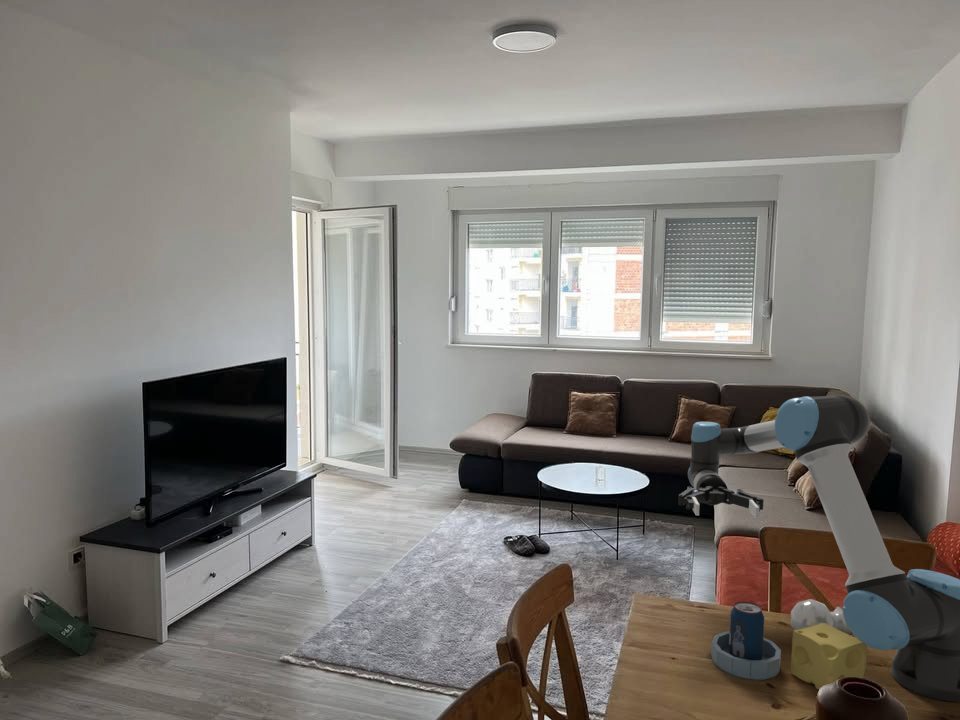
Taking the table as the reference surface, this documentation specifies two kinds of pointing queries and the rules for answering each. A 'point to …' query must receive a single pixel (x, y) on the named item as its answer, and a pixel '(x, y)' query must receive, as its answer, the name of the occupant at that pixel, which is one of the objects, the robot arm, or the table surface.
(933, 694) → the robot arm
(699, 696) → the table surface
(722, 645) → the bowl
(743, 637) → the soda can
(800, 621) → the potion bottle
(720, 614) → the table surface
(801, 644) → the cheese
